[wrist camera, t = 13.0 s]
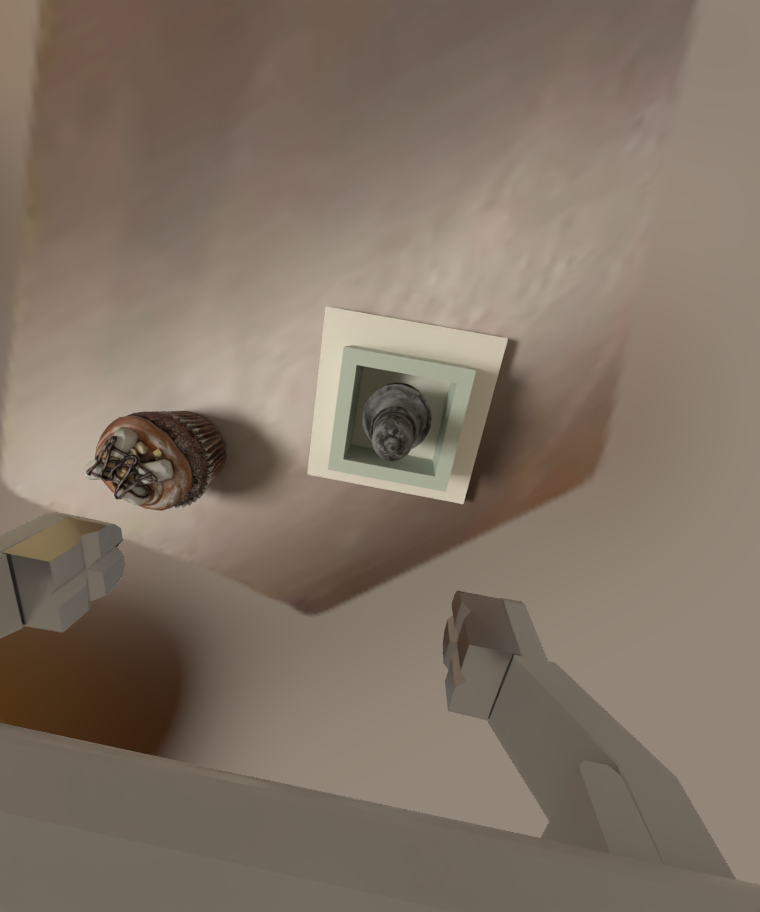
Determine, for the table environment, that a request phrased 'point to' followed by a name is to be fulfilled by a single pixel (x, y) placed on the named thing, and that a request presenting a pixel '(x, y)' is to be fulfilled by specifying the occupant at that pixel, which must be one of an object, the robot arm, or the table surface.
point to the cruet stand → (417, 364)
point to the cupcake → (158, 458)
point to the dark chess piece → (396, 420)
